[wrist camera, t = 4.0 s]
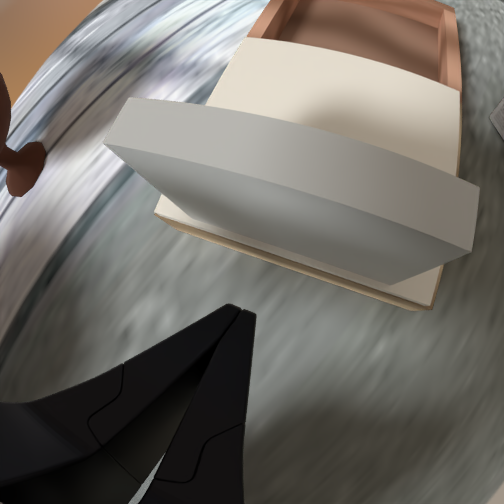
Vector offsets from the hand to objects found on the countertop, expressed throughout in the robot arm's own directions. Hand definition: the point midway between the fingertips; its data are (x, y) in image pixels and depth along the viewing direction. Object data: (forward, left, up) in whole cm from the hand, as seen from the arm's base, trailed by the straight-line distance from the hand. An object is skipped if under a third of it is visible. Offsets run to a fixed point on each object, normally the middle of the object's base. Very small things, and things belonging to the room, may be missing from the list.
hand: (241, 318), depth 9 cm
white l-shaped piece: (+8, +3, -5) cm, 10 cm away
